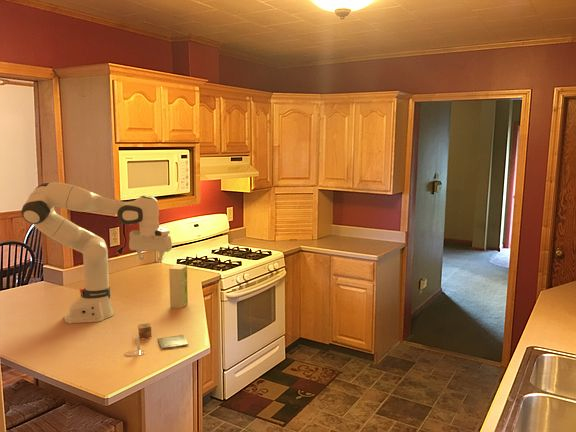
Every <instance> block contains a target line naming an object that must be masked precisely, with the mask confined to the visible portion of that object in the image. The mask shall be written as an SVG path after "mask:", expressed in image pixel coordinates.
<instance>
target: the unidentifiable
mask: <svg viewBox="0 0 576 432" xmlns="http://www.w3.org/2000/svg"><path fill="white" fill-rule="evenodd" d="M135 340H136V349H133V350H132V349H131V350H127V351H125V352H124V356H125V355H126V356H125V357H136V356H135V355H141V354H143V355H145V354H146V350H144V349H141V339H140V335H139V334H137V335H136V337H135ZM144 353H145V354H144ZM141 356H142V355H141Z"/></svg>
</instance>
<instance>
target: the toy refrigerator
mask: <svg viewBox="0 0 576 432" xmlns="http://www.w3.org/2000/svg"><path fill="white" fill-rule="evenodd" d="M168 273H169V303H170V304H169V306H170V308H173V309H184V307H185V306H187V304H188V303H189V302H188V300H189V298H188V295H189V294H188V293H189V292H188V266H187V265H186V264H185V265H184V264H175V265H173V266H171V267H170V268H169V272H168Z"/></svg>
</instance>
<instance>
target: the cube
mask: <svg viewBox="0 0 576 432" xmlns="http://www.w3.org/2000/svg"><path fill="white" fill-rule="evenodd" d="M137 327H138V328H137V329H138V334H137V335H140V340H143V339H142V338H145V339H150V338H149V337H153V336H152V335H153V334H152V325H151V323H150V322H148V323H147V322H146V323H140V324H138V325H137Z"/></svg>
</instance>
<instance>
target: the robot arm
mask: <svg viewBox="0 0 576 432" xmlns="http://www.w3.org/2000/svg"><path fill="white" fill-rule="evenodd" d="M56 207H59V208H62V209H66V210H69V211H73V212H80V213H82V212H83V213H84V212H89V211H96V210H97V211H105V212H108V213H112V214H116V216H117V219H118V221H119V222H120V223H121V224H123V225H127V226H131V225H134V224H139V230H137V229H136V230H133V229H132V230H131V231H130V232H129V241H128V246H129V247H128V248H129V250H131V251H136V254H137V256H138V258H139V261H143V260H144V259H145V255H143V254H142V251H144V252H145V251H146V252H159V254H160V255H159V256H157V261H159V262H162V261H163V256H164V255H165V253H168V252H171V250H172V248H173V243H172V238H171V236H170V234H171V233H170V230H169V229H167V228H165V227H163V226H160V222H159V216H160V212H159V211H160V209H159V208H160V207H159V203H158V200H157V198H155V197H154V196H151V195H150V196H149V195H141V196H139V197H138V198H136V199H135V200H128V201H127V200H125V201H122V200H118V199H115V198H111V197H106V196H104V195H103V196H102V195H101V194H98V193H95V192H92V191H91V190H87V189H86V188H83V187H80V186H78V185H74V184H70V183H65V182H59V181H52V182H44V183H41V184H39V185H38V186H37V187H36V188H35V189H34V190H33V191H32V192H31V193H30V195H29V196H28V199H27V200H26V201H25V203H24V204H23V206H22V208H21V212H20V214H21V217H22V219H24V221H25V222H27V223H28V224H29V223H30V224H32V225H33V226H34V227H35V228H36V229H37V230H39V232H41V233H43V234H44V235H45V236H47V237H49V238H50V239H51V240H54V241H55V242H58V243H59V244H61V245H62V246H64V247H67V248H70V249H72V250H75V251H77V252H79V253H81V254H82V261H83V279H84V288H83V287H80V288H79V293H80V297H79V298H77V299H76V300H75V301H74V302H72V303H71V304H70V307H69V309H68V313H66V314H65V315H64V318H63V320H64V322H65V323H66V324H82V323H96V322H102V321H104V320H105V319H108V318H111V317H112V316H113V315H114V314H115V312H114V310H113V307H112V301H111V286H110V281H109V279H110V278H109V254H108V253H109V250H108V245H107V244H106V241H105V239H104V238H102V237H101V236H99V235H97V234H95V233H93V232H91V231H89V230H87V229H86V228H83V227H81V226H79V225H77V224H75V223H74V222H72V221H71V220H70V219H67V218H66V217H64V216H62V215H60V214H58V213H57V212H56V210H55V208H56Z"/></svg>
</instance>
